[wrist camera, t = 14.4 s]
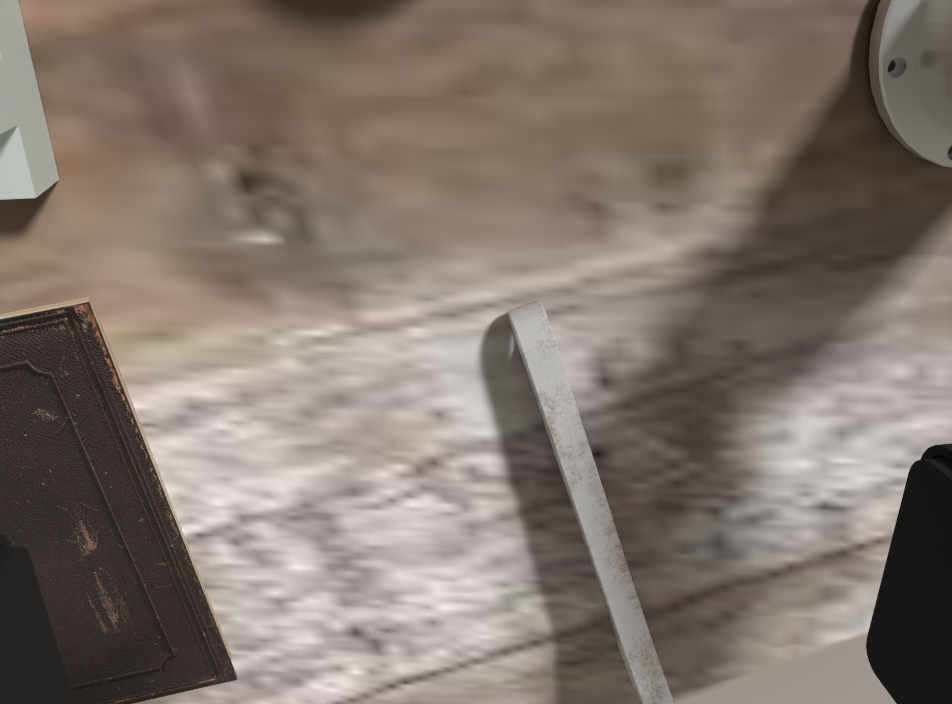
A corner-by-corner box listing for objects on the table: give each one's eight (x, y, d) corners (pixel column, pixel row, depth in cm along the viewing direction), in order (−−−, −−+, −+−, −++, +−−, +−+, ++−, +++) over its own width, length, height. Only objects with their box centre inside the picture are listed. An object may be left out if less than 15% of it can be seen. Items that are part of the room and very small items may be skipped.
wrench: (527, 279, 44) (665, 704, 54) (494, 291, 44) (638, 713, 54) (558, 325, 36) (712, 808, 46) (518, 339, 36) (681, 819, 46)
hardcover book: (100, 285, 38) (87, 304, 36) (240, 650, 48) (236, 681, 46) (-262, 356, 37) (-297, 379, 35) (-40, 713, 47) (-58, 747, 45)
